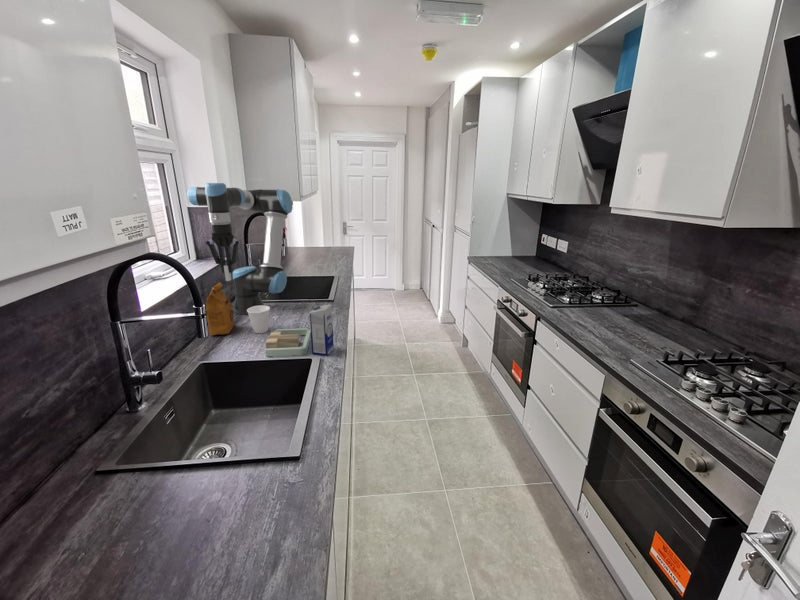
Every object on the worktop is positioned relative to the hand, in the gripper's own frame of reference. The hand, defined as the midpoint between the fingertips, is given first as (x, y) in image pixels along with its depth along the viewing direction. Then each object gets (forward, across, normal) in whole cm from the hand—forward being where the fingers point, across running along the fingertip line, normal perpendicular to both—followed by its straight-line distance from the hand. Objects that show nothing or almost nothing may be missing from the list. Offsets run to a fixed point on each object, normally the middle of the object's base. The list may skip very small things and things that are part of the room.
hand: (228, 280), depth 150 cm
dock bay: (+26, +24, -10) cm, 37 cm away
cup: (+27, +9, +6) cm, 29 cm away
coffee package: (+27, -8, +8) cm, 29 cm away
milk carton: (+27, +39, -18) cm, 51 cm away
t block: (+27, +22, -10) cm, 36 cm away
